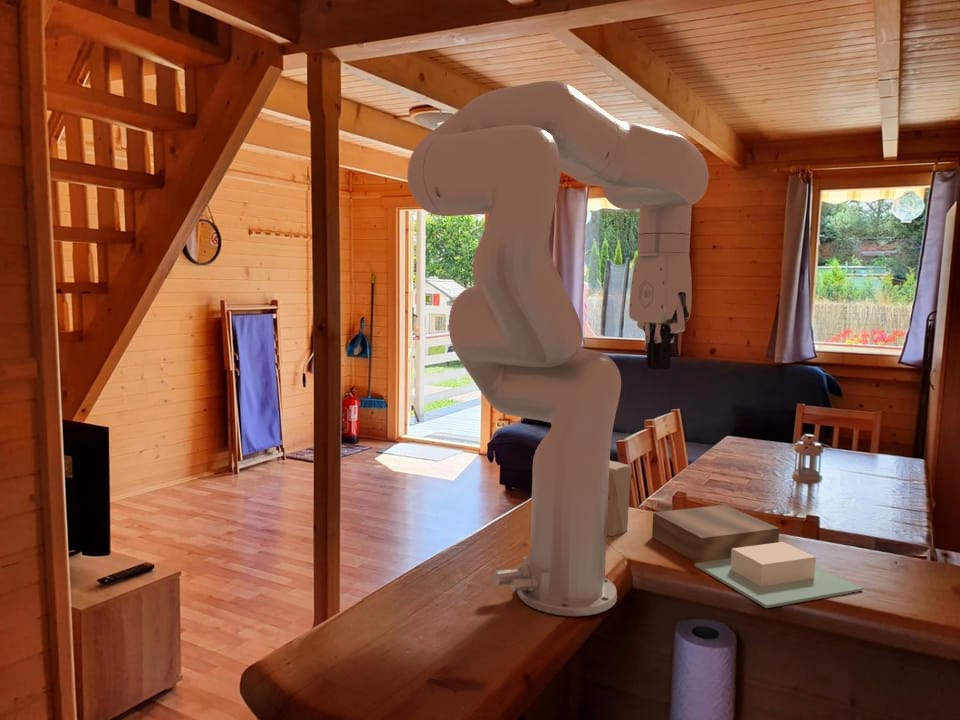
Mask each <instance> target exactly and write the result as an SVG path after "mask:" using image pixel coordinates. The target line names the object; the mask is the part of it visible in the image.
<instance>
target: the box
mask: <svg viewBox="0 0 960 720" xmlns="http://www.w3.org/2000/svg"><path fill="white" fill-rule="evenodd" d="M631 473H632V466H631V465H630V464H625V463H622V462H619V461H613V460H610V463H609V486H608V512H607V536H609V537H615V536H617V535H620V534H623V533H625V532H628V522H629V521H628V520H629V507H630V492H631V490H630V489H631V476H632V474H631Z"/></svg>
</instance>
